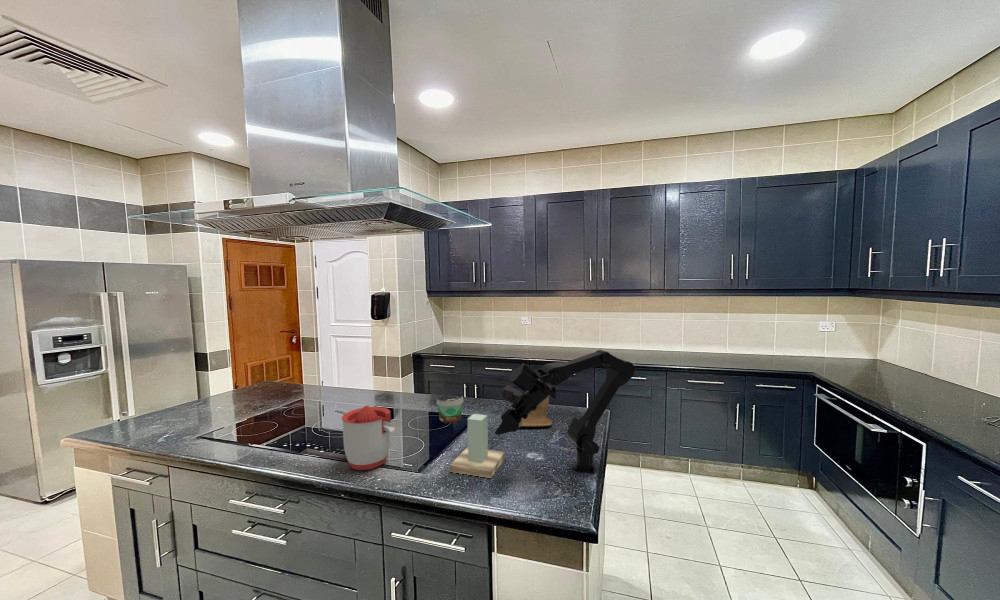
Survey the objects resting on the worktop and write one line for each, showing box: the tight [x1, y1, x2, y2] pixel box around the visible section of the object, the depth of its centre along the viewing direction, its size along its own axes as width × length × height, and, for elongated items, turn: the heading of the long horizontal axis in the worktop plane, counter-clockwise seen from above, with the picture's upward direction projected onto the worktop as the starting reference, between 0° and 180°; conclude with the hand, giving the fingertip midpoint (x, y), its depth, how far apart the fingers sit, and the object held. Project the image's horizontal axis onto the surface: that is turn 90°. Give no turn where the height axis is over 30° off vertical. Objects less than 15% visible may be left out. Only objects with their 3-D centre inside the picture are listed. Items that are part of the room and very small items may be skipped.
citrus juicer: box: [341, 405, 396, 471], centre depth 130 cm, size 16×17×20 cm
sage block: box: [467, 413, 489, 463], centre depth 127 cm, size 5×5×14 cm
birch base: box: [449, 446, 506, 479], centre depth 127 cm, size 14×14×2 cm
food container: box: [435, 396, 464, 424], centre depth 168 cm, size 12×6×10 cm, turn 114°
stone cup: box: [520, 396, 553, 428], centre depth 163 cm, size 15×12×15 cm
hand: (500, 428), depth 124 cm, fingers open, 9 cm apart
